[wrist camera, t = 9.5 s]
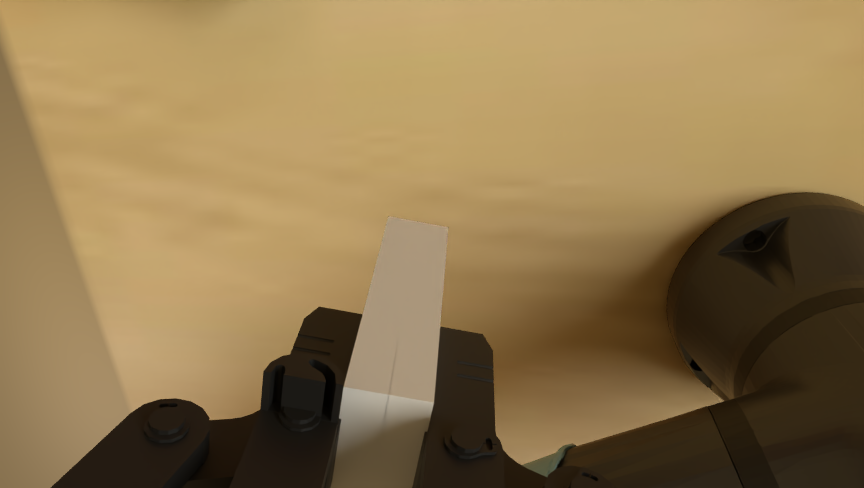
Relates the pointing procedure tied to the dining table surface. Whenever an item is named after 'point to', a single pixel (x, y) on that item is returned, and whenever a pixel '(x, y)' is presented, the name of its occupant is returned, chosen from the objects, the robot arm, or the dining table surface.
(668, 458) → the robot arm
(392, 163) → the dining table surface
